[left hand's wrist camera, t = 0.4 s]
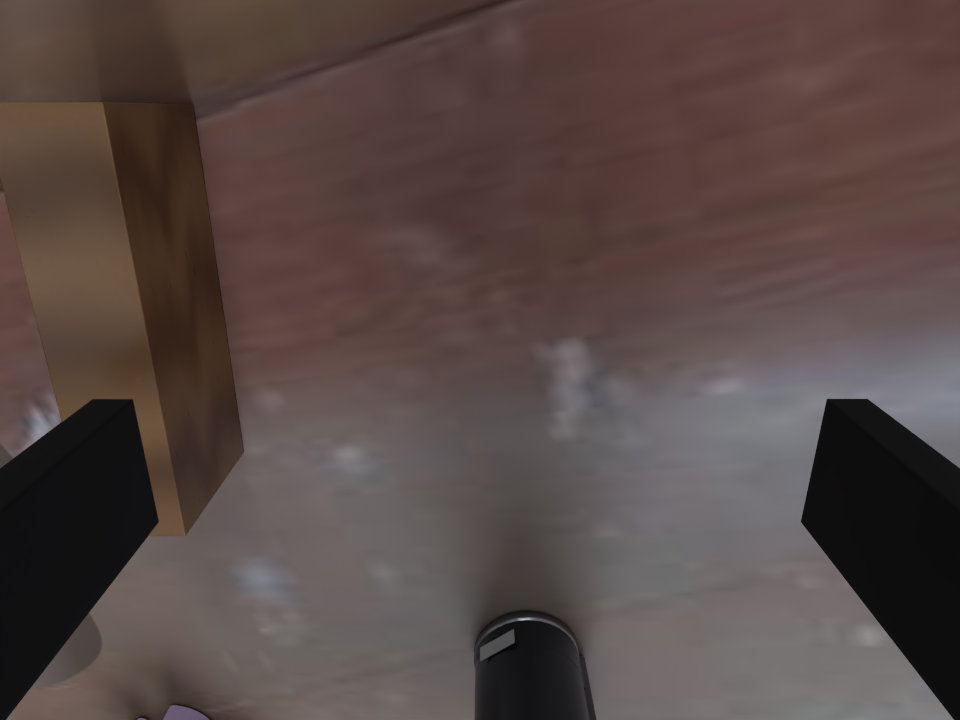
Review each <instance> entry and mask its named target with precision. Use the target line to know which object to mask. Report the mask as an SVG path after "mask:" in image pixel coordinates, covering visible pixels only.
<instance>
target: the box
mask: <svg viewBox="0 0 960 720" xmlns="http://www.w3.org/2000/svg"><path fill="white" fill-rule="evenodd" d="M0 179H1V183H2V187H3V191H4V195H5V199H6V203H7V207H8V211H9V215H10V219H11V222H12V226H13V230H14V234H15V238H16V242H17V246H18V250H19V254H20V258H21V262H22V266H23V270H24V274H25V278H26V282H27V286H28V290H29V294H30V297H31V301H32V305H33V309H34V313H35V317H36V321H37V325H38V329H39V333H40V337H41V341H42V345H43V349H44V353H45V357H46V361H47V365H48V369H49V372H50V376H51V380H52V384H53V388H54V392H55V396H56V400H57V404H58V408H59V412H60V416H61V420H62V422H63V421H64V420H65V419H67V418H68V417H69V416H71V415H72V414H73V413H75V412H76V411H77V410H79V409H80V408H81V407H83V406H84V405H85V404H87V403H88V402H89V401H91V400H92V399H133V402H134V406H135V411H136V416H137V420H138V425H139V430H140V435H141V439H142V444H143V449H144V453H145V458H146V463H147V468H148V472H149V477H150V482H151V486H152V491H153V496H154V501H155V505H156V510H157V515H158V519H159V522H158V524H157V525H156V526H155V528H154V529H153V530H152V532H151V533H150V534H149V535H148V536H186V535H187V533H188V532H189V530H190V529H191V527H192V526H193V525H194V523H195V522H196V520H197V519H198V517H199V516H200V514H201V513H202V512H203V510H204V509H205V507H206V506H207V504H208V503H209V502H210V500H211V499H212V497H213V496H214V494H215V493H216V491H217V490H218V489H219V487H220V486H221V484H222V483H223V481H224V480H225V479H226V477H227V476H228V474H229V473H230V471H231V470H232V468H233V467H234V466H235V464H236V463H237V461H238V460H239V458H240V457H241V455H242V454H243V453H244V450H243V443H242V437H241V430H240V423H239V416H238V409H237V402H236V395H235V389H234V382H233V375H232V368H231V361H230V354H229V347H228V340H227V334H226V327H225V320H224V313H223V306H222V299H221V292H220V286H219V279H218V272H217V265H216V258H215V251H214V244H213V238H212V231H211V224H210V217H209V210H208V203H207V196H206V190H205V183H204V176H203V169H202V162H201V155H200V148H199V142H198V135H197V128H196V121H195V114H194V107H193V105H192V104H163V103H127V102H0Z"/></svg>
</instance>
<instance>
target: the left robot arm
mask: <svg viewBox="0 0 960 720" xmlns="http://www.w3.org/2000/svg"><path fill="white" fill-rule="evenodd" d="M158 522H159V519H158V515H157V510H156V505H155V501H154V496H153V491H152V486H151V482H150V477H149V472H148V468H147V463H146V458H145V453H144V449H143V444H142V439H141V435H140V430H139V425H138V420H137V416H136V411H135V406H134V402H133V399H92V400H91V401H89V402H88V403H87V404H85V405H84V406H83V407H81V408H80V409H79V410H77V411H76V412H75V413H73V414H72V415H71V416H69V417H68V418H67V419H65V420H64V421H63V422H61V423H60V424H59V425H57V426H56V427H55V428H53V429H52V430H51V431H49V432H48V433H47V434H45V435H44V436H43V437H41V438H40V439H39V440H37V441H36V442H35V443H34V444H32V445H31V446H30V447H28V448H27V449H26V450H24V451H23V452H22V453H20V454H19V455H18V456H16V457H15V458H14V459H12V460H11V461H10V462H8V463H7V464H6V465H4V466H3V467H2V468H0V720H6V719H7V717H8V716H9V715H10V714H11V712H12V711H13V710H14V709H15V707H16V706H17V705H18V703H19V702H20V701H21V699H22V698H23V697H24V696H25V694H26V693H27V692H28V690H29V689H30V688H31V687H32V685H33V684H34V683H35V681H36V680H37V679H38V677H39V676H40V675H41V674H42V672H43V671H44V670H45V668H46V667H47V666H48V665H49V663H50V662H51V661H52V659H53V658H54V657H55V656H56V654H57V653H58V652H59V650H60V649H61V648H62V646H63V645H64V644H65V643H66V641H67V640H68V639H69V637H70V636H71V635H72V634H73V632H74V631H75V630H76V628H77V627H78V626H79V625H80V623H81V622H82V621H83V619H84V618H85V617H86V616H87V614H88V613H89V612H90V610H91V609H92V608H93V606H94V605H95V604H96V603H97V601H98V600H99V599H100V597H101V596H102V595H103V594H104V592H105V591H106V590H107V588H108V587H109V586H110V585H111V583H112V582H113V581H114V579H115V578H116V577H117V575H118V574H119V573H120V572H121V570H122V569H123V568H124V566H125V565H126V564H127V563H128V561H129V560H130V559H131V557H132V556H133V555H134V554H135V552H136V551H137V550H138V548H139V547H140V546H141V544H142V543H143V542H144V541H145V539H146V538H147V537H148V535H149V534H150V533H151V532H152V530H153V529H154V528H155V526H156V525H157V524H158ZM801 522H802V524H803V525H804V526H805V528H806V529H807V530H808V532H809V533H810V534H811V535H812V537H813V538H814V539H815V541H816V542H817V543H818V544H819V546H820V547H821V548H822V550H823V551H824V552H825V554H826V555H827V556H828V557H829V559H830V560H831V561H832V563H833V564H834V565H835V566H836V568H837V569H838V570H839V572H840V573H841V574H842V575H843V577H844V578H845V579H846V581H847V582H848V583H849V585H850V586H851V587H852V588H853V590H854V591H855V592H856V594H857V595H858V596H859V597H860V599H861V600H862V601H863V603H864V604H865V605H866V606H867V608H868V609H869V610H870V612H871V613H872V614H873V616H874V617H875V618H876V619H877V621H878V622H879V623H880V625H881V626H882V627H883V628H884V630H885V631H886V632H887V634H888V635H889V636H890V637H891V639H892V640H893V641H894V643H895V644H896V645H897V647H898V648H899V649H900V650H901V652H902V653H903V654H904V656H905V657H906V658H907V659H908V661H909V662H910V663H911V665H912V666H913V667H914V668H915V670H916V671H917V672H918V674H919V675H920V676H921V678H922V679H923V680H924V681H925V683H926V684H927V685H928V687H929V688H930V689H931V690H932V692H933V693H934V694H935V696H936V697H937V698H938V699H939V701H940V702H941V703H942V705H943V706H944V707H945V709H946V710H947V711H948V712H949V714H950V715H951V716H952V718H953V719H954V720H960V468H958V467H957V466H956V465H954V464H953V463H952V462H950V461H949V460H948V459H946V458H945V457H944V456H942V455H941V454H940V453H938V452H937V451H936V450H934V449H933V448H932V447H930V446H929V445H928V444H926V443H925V442H924V441H923V440H921V439H920V438H919V437H917V436H916V435H915V434H913V433H912V432H911V431H909V430H908V429H907V428H905V427H904V426H903V425H901V424H900V423H899V422H897V421H896V420H895V419H893V418H892V417H891V416H889V415H888V414H887V413H885V412H884V411H883V410H881V409H880V408H879V407H877V406H876V405H875V404H873V403H872V402H871V401H869V400H868V399H827V402H826V406H825V411H824V416H823V420H822V425H821V430H820V435H819V439H818V444H817V449H816V453H815V458H814V463H813V468H812V472H811V477H810V482H809V486H808V491H807V496H806V501H805V505H804V510H803V515H802V519H801Z"/></svg>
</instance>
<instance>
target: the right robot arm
mask: <svg viewBox="0 0 960 720" xmlns="http://www.w3.org/2000/svg"><path fill="white" fill-rule="evenodd" d="M474 664H475V720H596V715H595V710H594V705H593V700H592V694H591V689H590V684H589V679H588V674H587V668H586V663H585V658H584V657H583V656H581V655H580V654H579V651H578V646H577V641H576V639H575V636H574V635H573V633H572V631H571V630H570V629H569V628H568V627H567V626H566V625H565V624H564V623H563V622H561V621H560V620H558V619H556V618H554V617H552V616H550V615H547V614H543V613H538V612H517V613H512V614H508V615H505V616H503V617H500V618H498V619H497V620H495V621H493V622H492V623H490V624H489V625H488V626H487V627H486V628H485V629H484V630H483V631H482V632H481V634H480V635H479V637H478V639H477V642H476V645H475V650H474Z"/></svg>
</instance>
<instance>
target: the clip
mask: <svg viewBox="0 0 960 720" xmlns="http://www.w3.org/2000/svg"><path fill="white" fill-rule="evenodd" d="M137 720H146V719H144V718H138V719H137ZM163 720H209V719H208V718H207V717H206V716H204V715H203V714H201V713H200V712H198V711H195V710H193V709H190V708H187V707H183V706H177V705H172V706H170V707H169V709H168V711H167V713H166V714H165V716H164V718H163Z"/></svg>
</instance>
